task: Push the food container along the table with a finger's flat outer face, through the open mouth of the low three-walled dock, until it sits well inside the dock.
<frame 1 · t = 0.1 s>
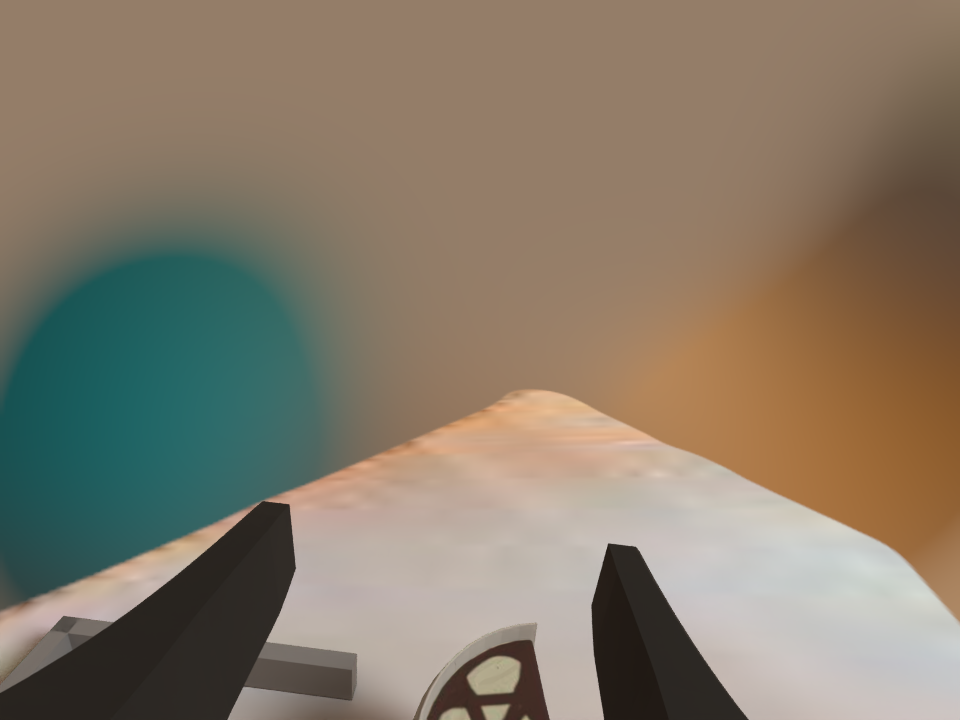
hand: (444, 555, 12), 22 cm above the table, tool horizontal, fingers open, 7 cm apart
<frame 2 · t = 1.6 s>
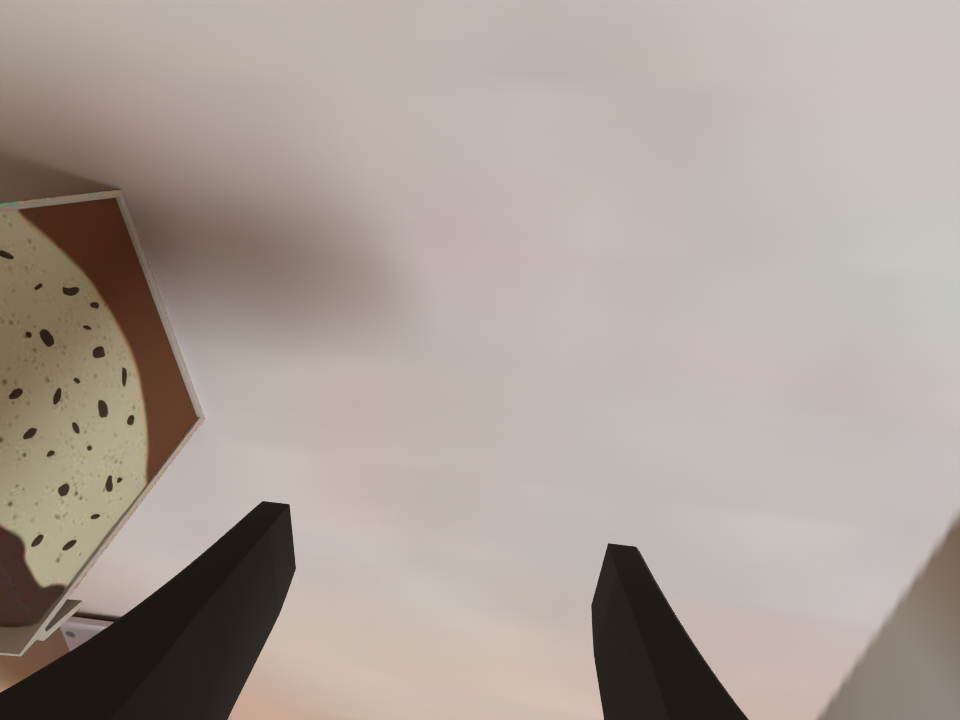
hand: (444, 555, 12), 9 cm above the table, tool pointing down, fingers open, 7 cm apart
food container: (96, 316, 21), on the table
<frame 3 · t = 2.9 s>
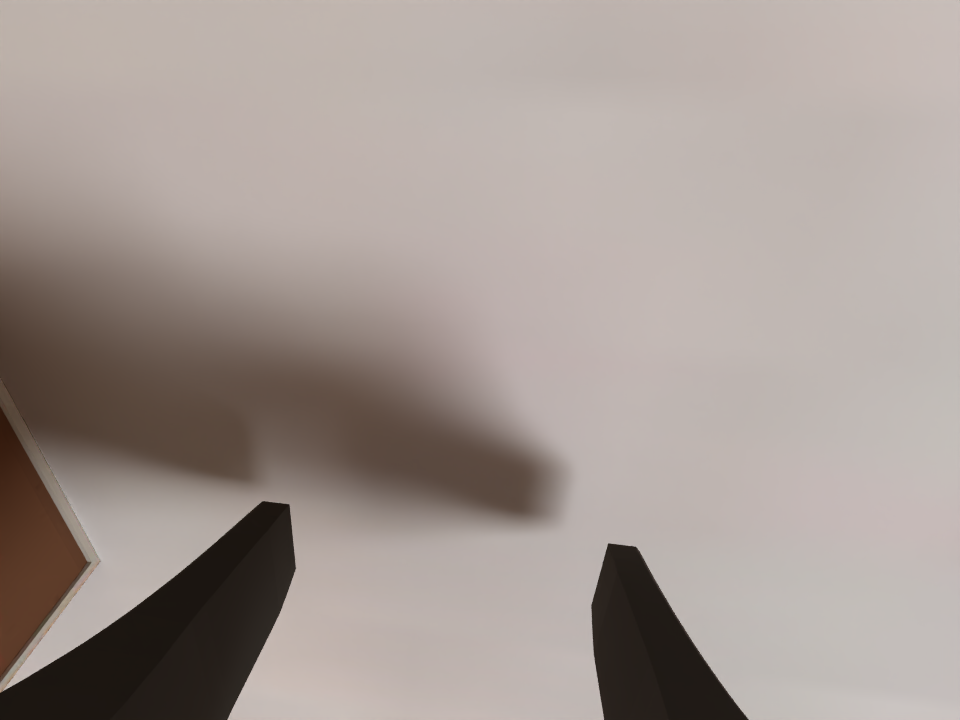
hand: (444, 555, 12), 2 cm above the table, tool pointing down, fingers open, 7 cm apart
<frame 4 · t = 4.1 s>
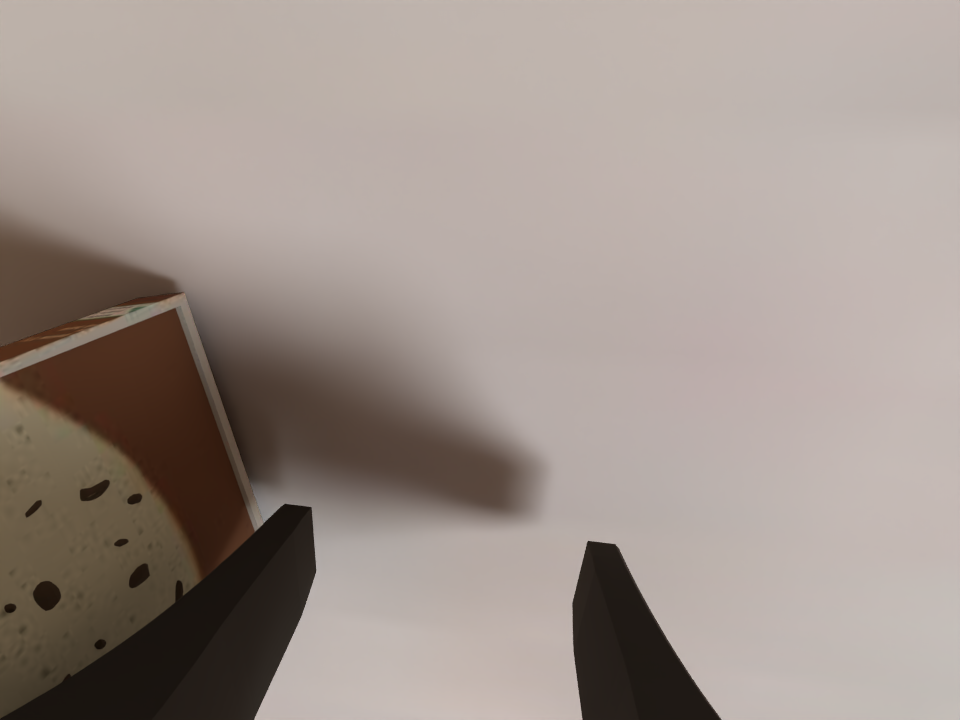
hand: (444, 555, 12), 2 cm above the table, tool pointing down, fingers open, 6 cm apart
food container: (142, 459, 14), on the table, touching gripper
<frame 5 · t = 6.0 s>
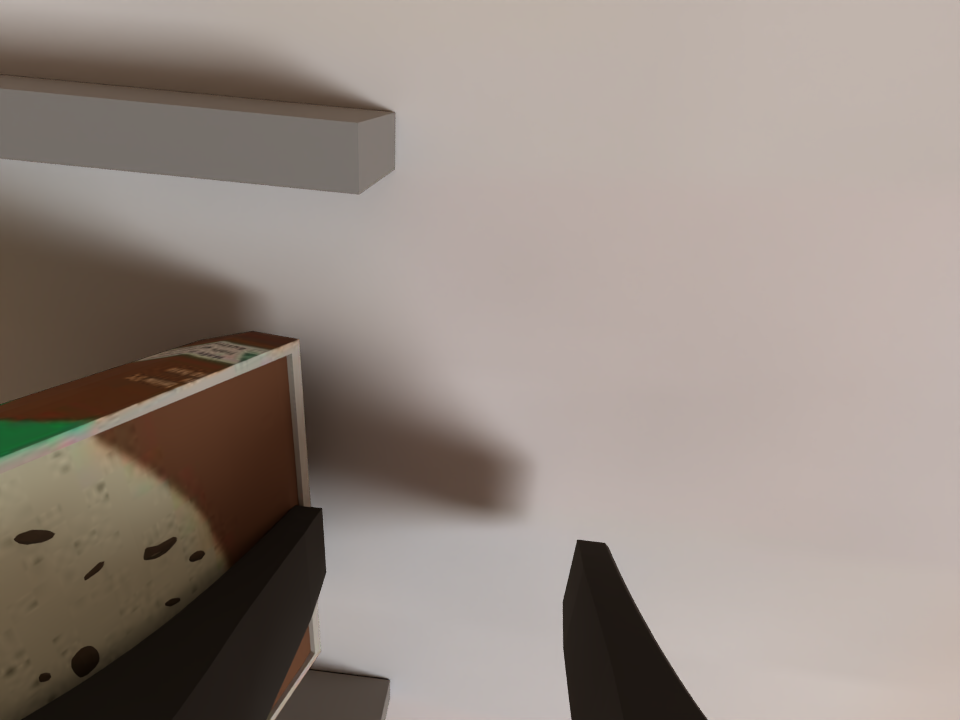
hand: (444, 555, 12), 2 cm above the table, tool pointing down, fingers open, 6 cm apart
dock: (91, 456, 14), on the table
food container: (216, 476, 14), on the table, touching gripper
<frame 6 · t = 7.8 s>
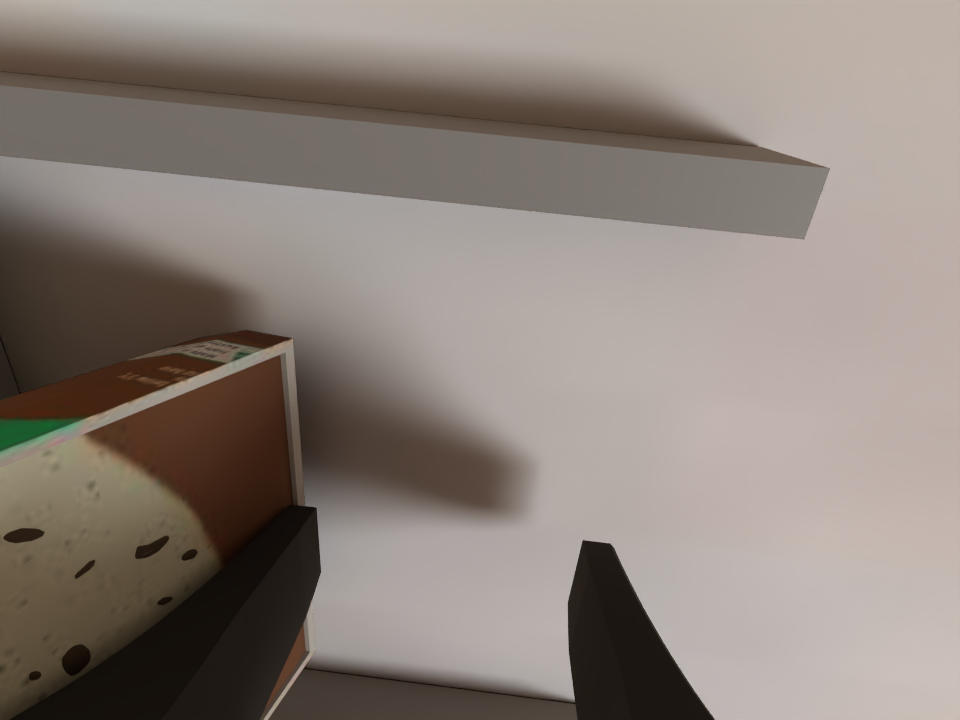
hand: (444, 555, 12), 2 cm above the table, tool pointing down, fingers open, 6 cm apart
dock: (338, 484, 14), on the table
food container: (210, 475, 14), on the table, touching gripper
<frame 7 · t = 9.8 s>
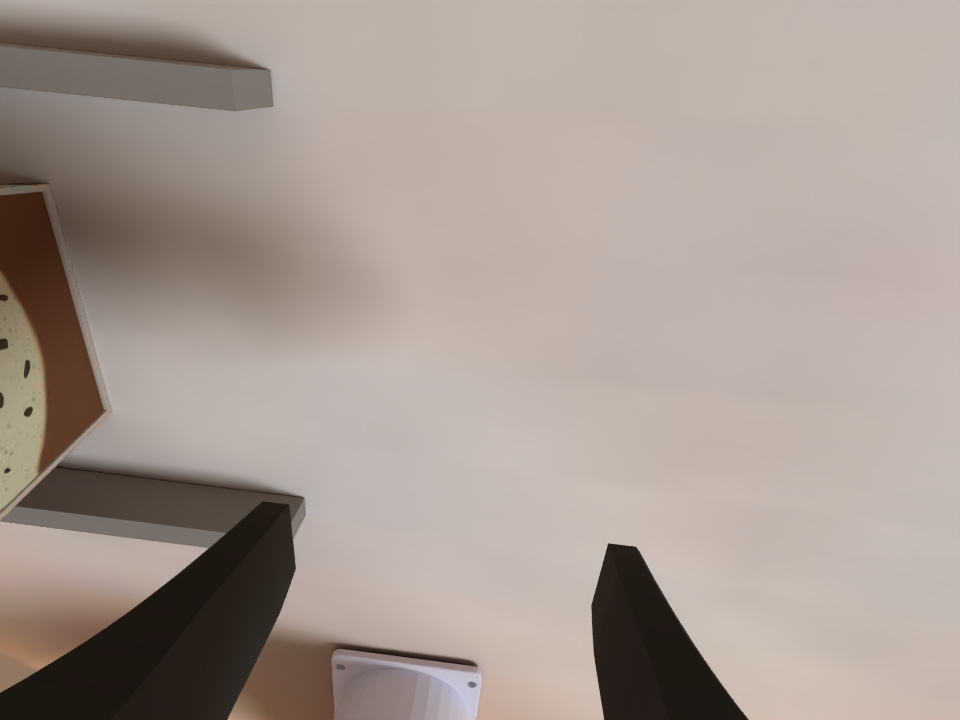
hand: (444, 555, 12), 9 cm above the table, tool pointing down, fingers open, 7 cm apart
dock: (86, 313, 21), on the table
food container: (10, 298, 21), on the table
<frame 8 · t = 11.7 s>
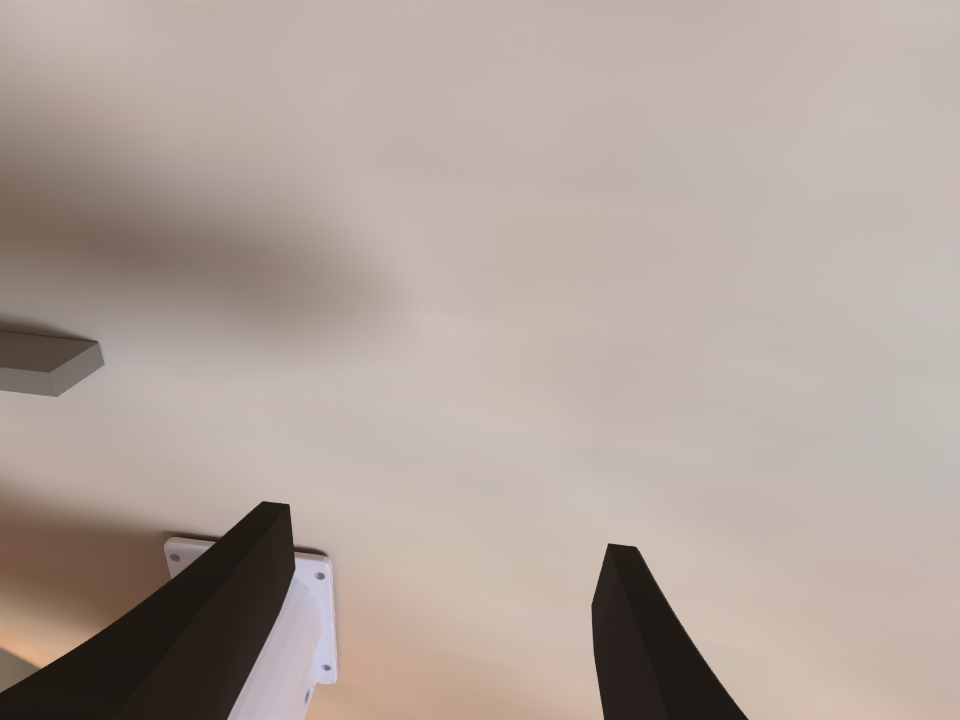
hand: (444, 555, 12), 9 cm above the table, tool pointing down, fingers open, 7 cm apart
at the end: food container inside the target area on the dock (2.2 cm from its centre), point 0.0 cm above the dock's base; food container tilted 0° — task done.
